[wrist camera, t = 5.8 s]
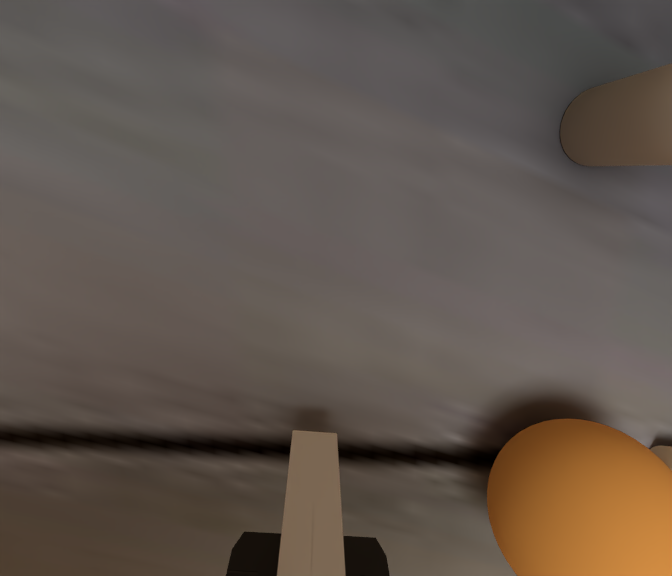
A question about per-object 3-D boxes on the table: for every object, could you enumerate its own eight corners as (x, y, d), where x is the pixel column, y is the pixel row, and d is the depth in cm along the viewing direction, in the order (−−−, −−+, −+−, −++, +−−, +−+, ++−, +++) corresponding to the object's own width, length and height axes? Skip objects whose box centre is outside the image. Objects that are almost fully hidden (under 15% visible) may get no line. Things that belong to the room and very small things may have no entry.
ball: (681, 603, 14) (517, 489, 18) (754, 460, 12) (554, 372, 17) (628, 741, 10) (437, 557, 15) (723, 563, 8) (475, 413, 13)
